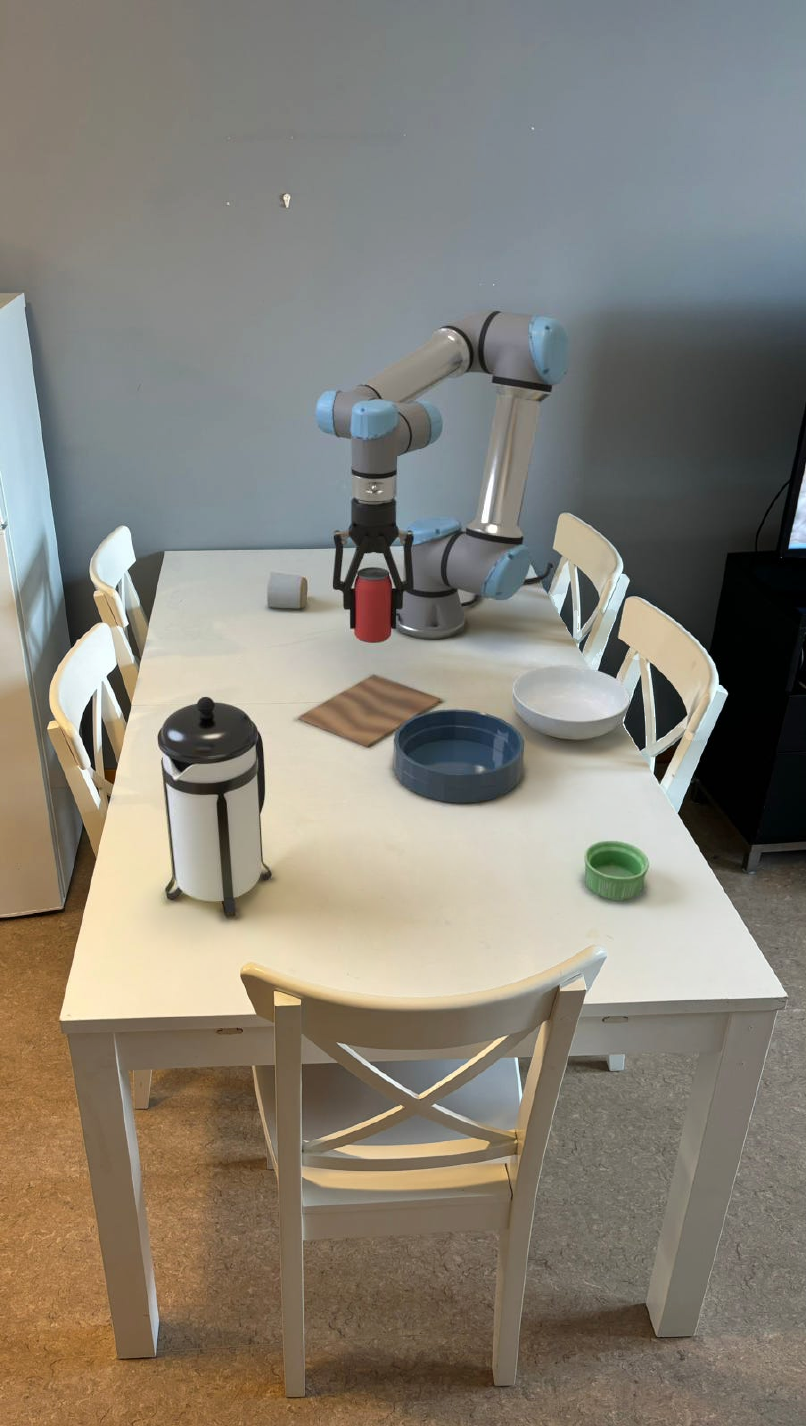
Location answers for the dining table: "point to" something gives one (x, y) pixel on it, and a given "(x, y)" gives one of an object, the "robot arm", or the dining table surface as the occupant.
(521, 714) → the serving bowl
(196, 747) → the coffee press
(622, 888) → the ramekin
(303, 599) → the grey cylinder
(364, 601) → the beer can
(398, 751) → the blue bowl
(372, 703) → the wooden cutting board
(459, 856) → the dining table surface
